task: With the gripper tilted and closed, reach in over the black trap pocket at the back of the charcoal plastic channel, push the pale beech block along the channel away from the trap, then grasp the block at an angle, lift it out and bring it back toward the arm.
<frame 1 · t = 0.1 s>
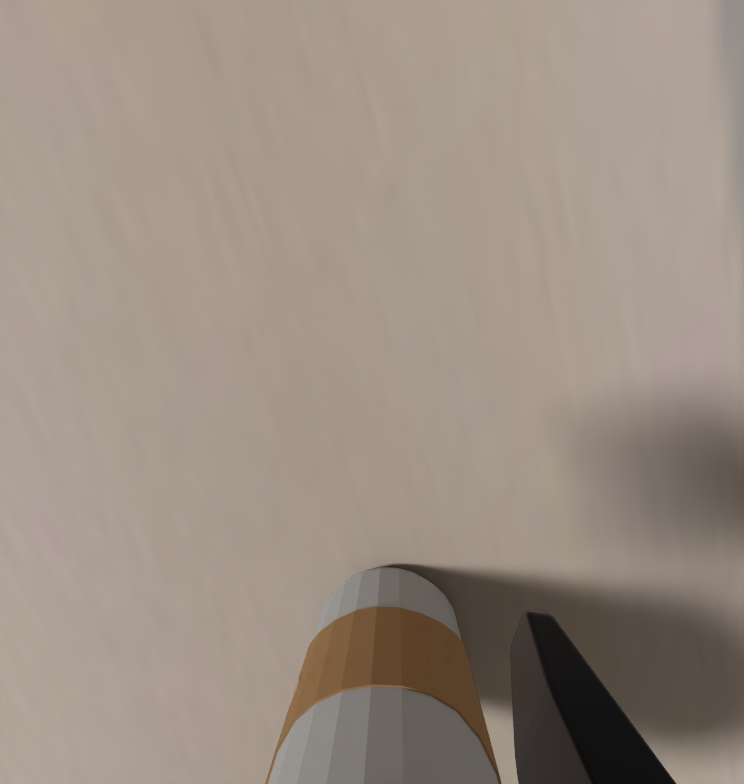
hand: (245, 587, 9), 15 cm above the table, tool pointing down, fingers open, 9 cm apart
coffee cup: (388, 619, 27), on the table
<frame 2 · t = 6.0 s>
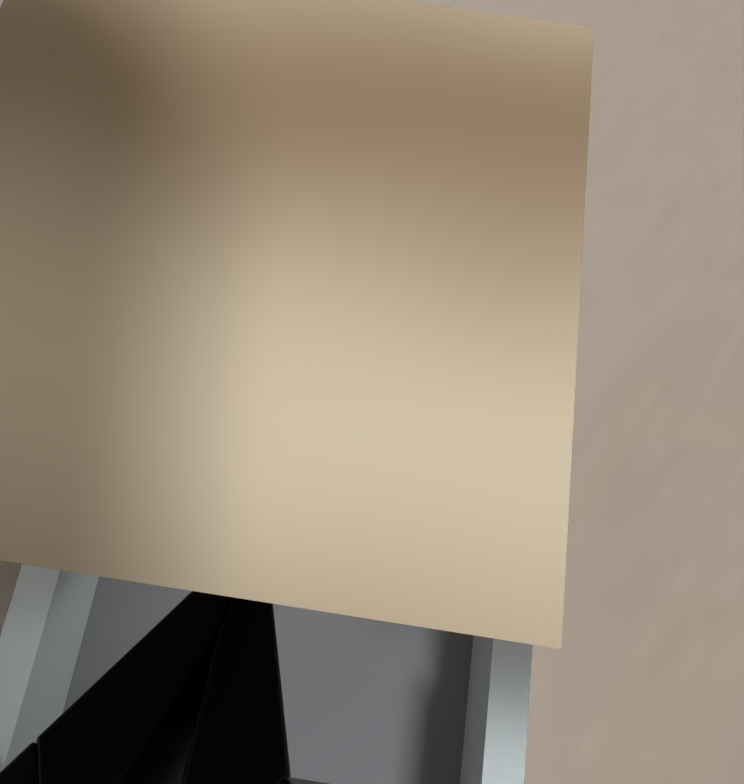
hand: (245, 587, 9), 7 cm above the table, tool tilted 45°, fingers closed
beech block: (317, 446, 15), point 2 cm above the table, touching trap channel
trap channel: (297, 579, 16), on the table
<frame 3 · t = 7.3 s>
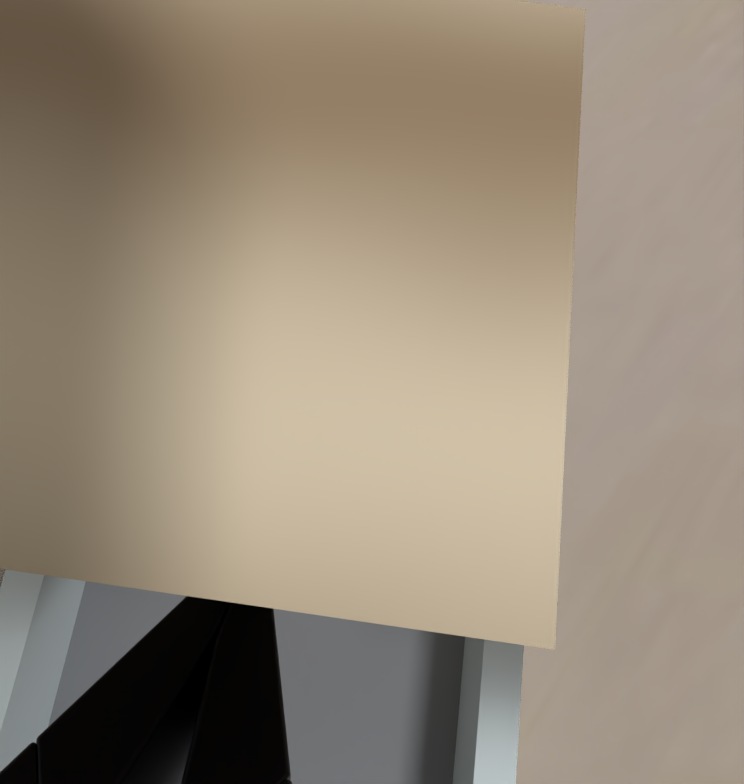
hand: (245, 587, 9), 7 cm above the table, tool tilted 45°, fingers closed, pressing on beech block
beech block: (311, 443, 15), point 2 cm above the table, touching gripper, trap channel
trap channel: (258, 757, 14), on the table
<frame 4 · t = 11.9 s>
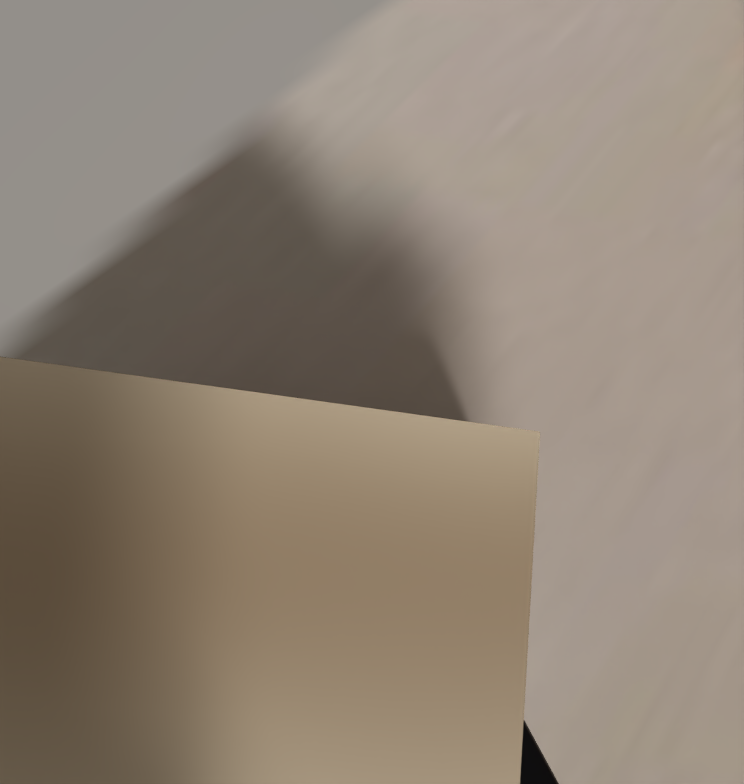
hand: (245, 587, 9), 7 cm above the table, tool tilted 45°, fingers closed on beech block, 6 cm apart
beech block: (271, 628, 13), point 2 cm above the table, touching gripper, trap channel
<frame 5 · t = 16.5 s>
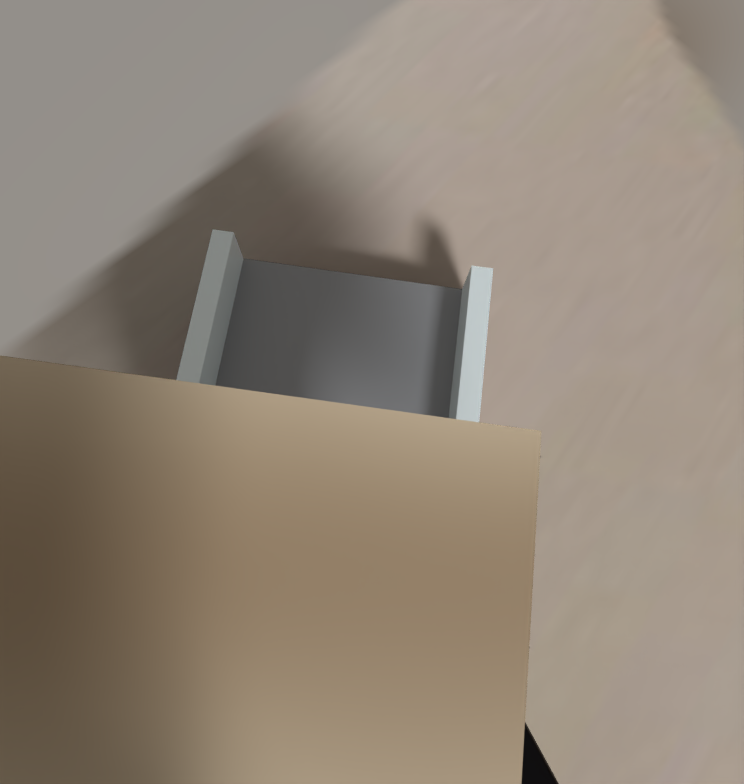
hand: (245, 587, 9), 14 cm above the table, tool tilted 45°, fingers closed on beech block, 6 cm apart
beech block: (271, 628, 13), point 9 cm above the table, touching gripper
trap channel: (306, 577, 22), on the table
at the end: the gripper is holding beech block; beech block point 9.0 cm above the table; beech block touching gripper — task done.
